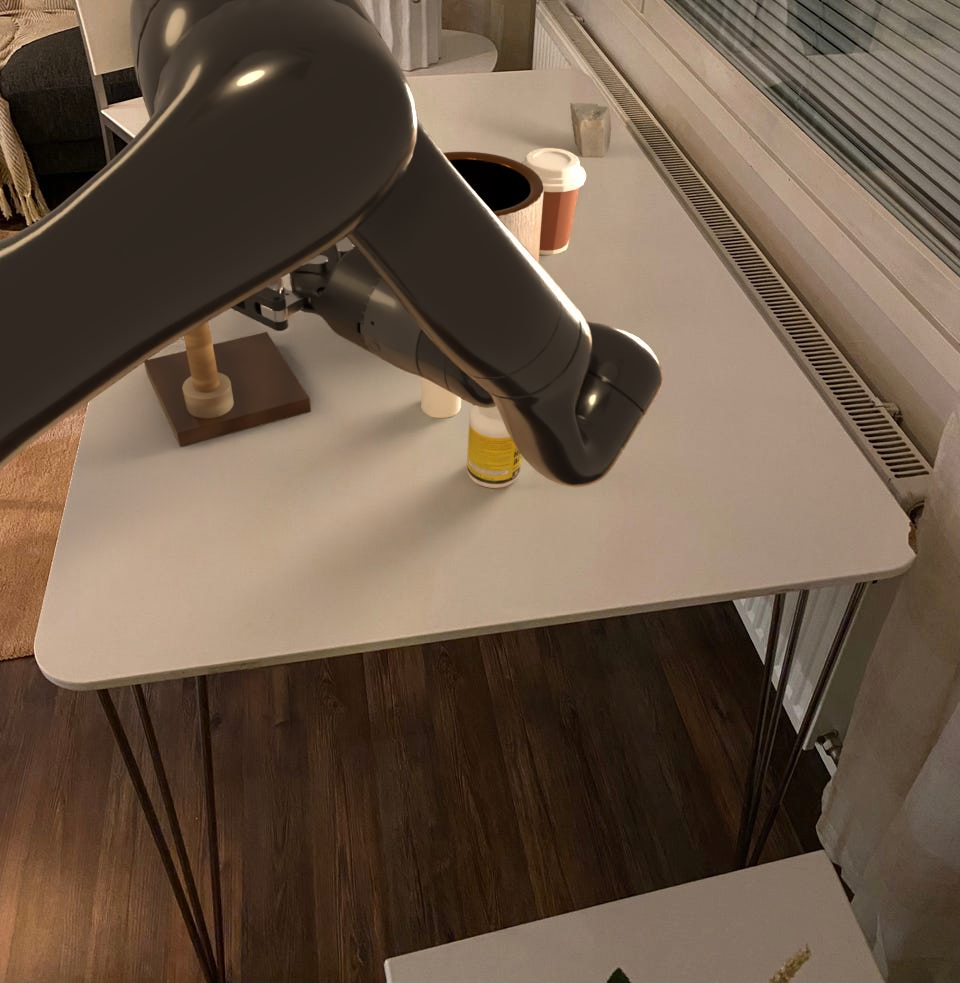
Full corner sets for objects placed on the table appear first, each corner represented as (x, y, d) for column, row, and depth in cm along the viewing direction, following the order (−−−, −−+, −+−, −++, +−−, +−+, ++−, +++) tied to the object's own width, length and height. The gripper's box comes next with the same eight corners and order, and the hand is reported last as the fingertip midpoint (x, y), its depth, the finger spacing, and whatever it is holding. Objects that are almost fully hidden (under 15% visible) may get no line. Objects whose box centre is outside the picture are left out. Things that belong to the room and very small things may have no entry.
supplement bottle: (520, 491, 95) (527, 411, 88) (465, 488, 95) (468, 409, 88) (520, 455, 99) (526, 377, 92) (467, 453, 99) (470, 374, 92)
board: (180, 447, 98) (177, 433, 97) (146, 373, 107) (143, 360, 106) (311, 411, 103) (309, 397, 102) (268, 344, 112) (266, 331, 111)
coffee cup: (588, 238, 134) (598, 153, 126) (561, 266, 128) (570, 179, 120) (528, 222, 137) (535, 138, 129) (500, 248, 131) (505, 163, 123)
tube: (447, 423, 102) (449, 299, 92) (413, 409, 104) (412, 286, 94) (468, 402, 105) (472, 280, 95) (435, 389, 107) (436, 268, 97)
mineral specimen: (554, 140, 157) (569, 90, 152) (604, 151, 159) (620, 102, 154) (562, 157, 152) (578, 106, 147) (613, 168, 154) (631, 118, 149)
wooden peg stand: (188, 422, 98) (165, 311, 89) (184, 394, 101) (161, 285, 93) (236, 414, 99) (218, 304, 91) (230, 387, 103) (212, 279, 94)
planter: (436, 356, 112) (437, 231, 101) (368, 285, 123) (363, 166, 112) (562, 318, 119) (576, 197, 108) (488, 254, 130) (493, 139, 119)
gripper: (468, 230, 72) (318, 165, 79) (327, 304, 63) (174, 223, 71) (465, 317, 77) (325, 248, 84) (334, 396, 68) (191, 311, 76)
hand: (256, 236), depth 78 cm, fingers open, 8 cm apart
